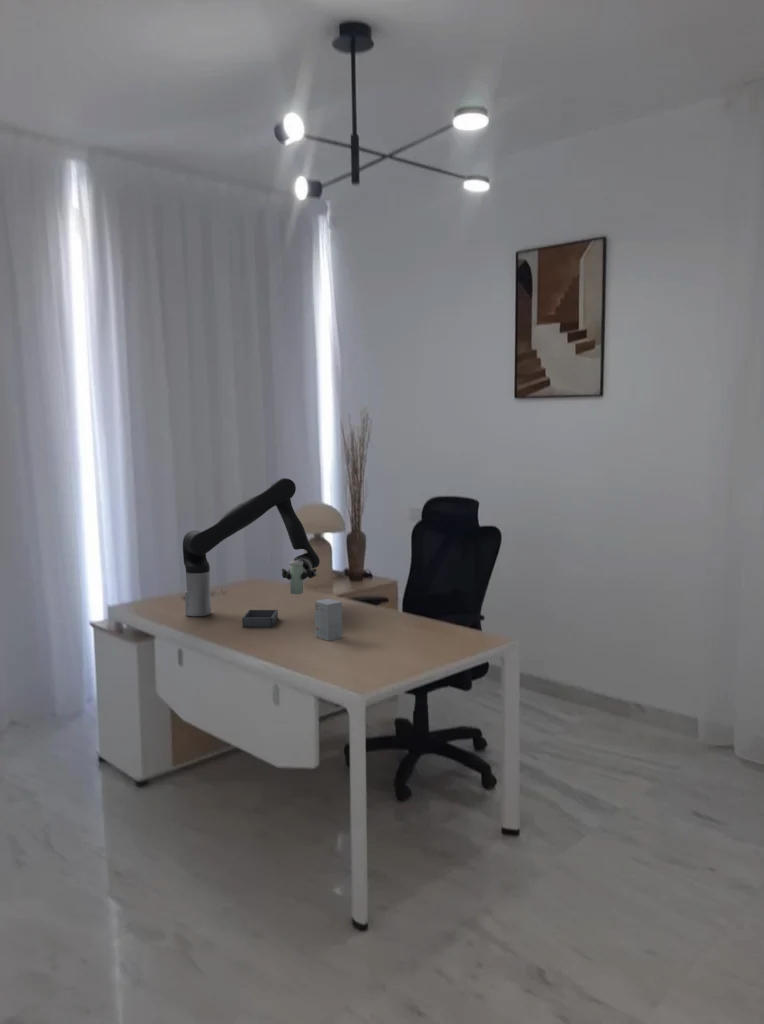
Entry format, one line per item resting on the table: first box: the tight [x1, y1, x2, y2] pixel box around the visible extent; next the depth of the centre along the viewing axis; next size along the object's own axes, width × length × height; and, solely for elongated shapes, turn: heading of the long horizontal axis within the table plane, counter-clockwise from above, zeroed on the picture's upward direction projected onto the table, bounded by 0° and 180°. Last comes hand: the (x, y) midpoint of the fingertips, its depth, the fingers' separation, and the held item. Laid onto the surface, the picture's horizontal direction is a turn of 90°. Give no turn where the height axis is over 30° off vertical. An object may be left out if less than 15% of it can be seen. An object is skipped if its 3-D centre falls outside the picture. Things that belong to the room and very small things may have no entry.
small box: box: [314, 598, 343, 642], centre depth 283 cm, size 8×6×13 cm
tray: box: [241, 609, 279, 628], centre depth 305 cm, size 11×13×4 cm
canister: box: [289, 560, 304, 595], centre depth 305 cm, size 5×5×12 cm
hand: (295, 577), depth 302 cm, fingers closed on canister, 4 cm apart
